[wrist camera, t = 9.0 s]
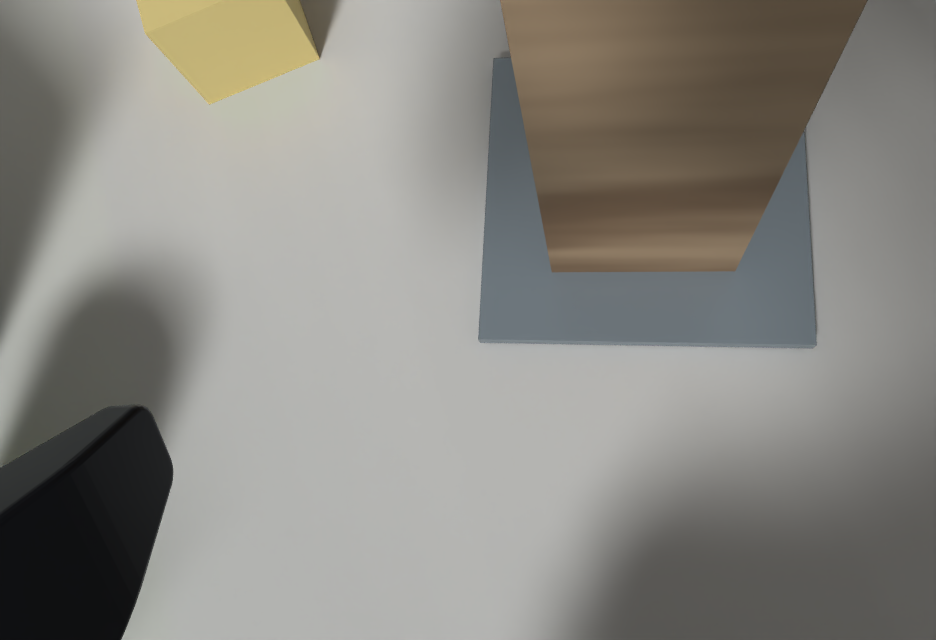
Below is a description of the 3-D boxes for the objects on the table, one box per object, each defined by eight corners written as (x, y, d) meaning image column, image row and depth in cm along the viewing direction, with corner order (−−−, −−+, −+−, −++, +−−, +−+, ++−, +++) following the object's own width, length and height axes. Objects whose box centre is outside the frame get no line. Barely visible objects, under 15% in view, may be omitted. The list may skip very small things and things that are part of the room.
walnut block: (735, 271, 22) (879, -24, 10) (551, 272, 23) (499, 0, 11) (728, 107, 23) (850, -314, 12) (555, 114, 24) (512, -273, 13)
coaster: (812, 348, 21) (816, 344, 21) (480, 342, 23) (478, 339, 23) (796, 52, 24) (799, 45, 23) (495, 65, 25) (493, 58, 25)
